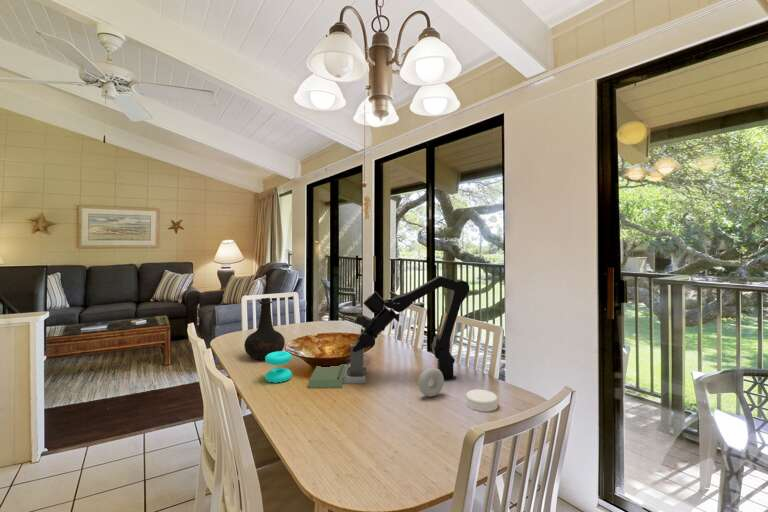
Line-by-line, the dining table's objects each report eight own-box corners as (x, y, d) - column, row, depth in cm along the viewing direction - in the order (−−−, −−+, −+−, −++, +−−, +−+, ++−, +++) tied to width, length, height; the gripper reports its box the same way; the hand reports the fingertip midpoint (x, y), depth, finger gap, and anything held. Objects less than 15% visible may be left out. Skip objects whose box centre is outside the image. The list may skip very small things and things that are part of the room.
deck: (367, 369, 153) (367, 360, 153) (364, 387, 133) (364, 377, 133) (318, 369, 153) (318, 361, 153) (309, 387, 133) (309, 378, 133)
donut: (440, 391, 129) (440, 363, 129) (446, 395, 126) (446, 366, 126) (416, 397, 124) (416, 368, 124) (422, 401, 121) (422, 371, 121)
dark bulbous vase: (236, 358, 168) (236, 298, 167) (268, 349, 183) (268, 294, 182) (260, 365, 158) (260, 302, 157) (292, 355, 173) (292, 297, 172)
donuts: (292, 356, 138) (264, 359, 135) (292, 382, 139) (265, 385, 136) (290, 349, 148) (264, 351, 145) (290, 373, 148) (265, 376, 145)
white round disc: (459, 402, 121) (460, 391, 121) (484, 397, 125) (484, 387, 124) (478, 414, 112) (478, 403, 112) (504, 409, 115) (504, 398, 115)
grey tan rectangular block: (363, 373, 146) (364, 341, 145) (363, 377, 140) (363, 344, 140) (350, 372, 146) (351, 340, 145) (349, 377, 140) (350, 344, 140)
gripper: (367, 303, 152) (341, 329, 152) (365, 311, 133) (336, 341, 133) (386, 321, 152) (360, 348, 152) (387, 332, 133) (357, 362, 134)
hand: (353, 349), depth 143 cm, fingers closed on grey tan rectangular block, 5 cm apart
